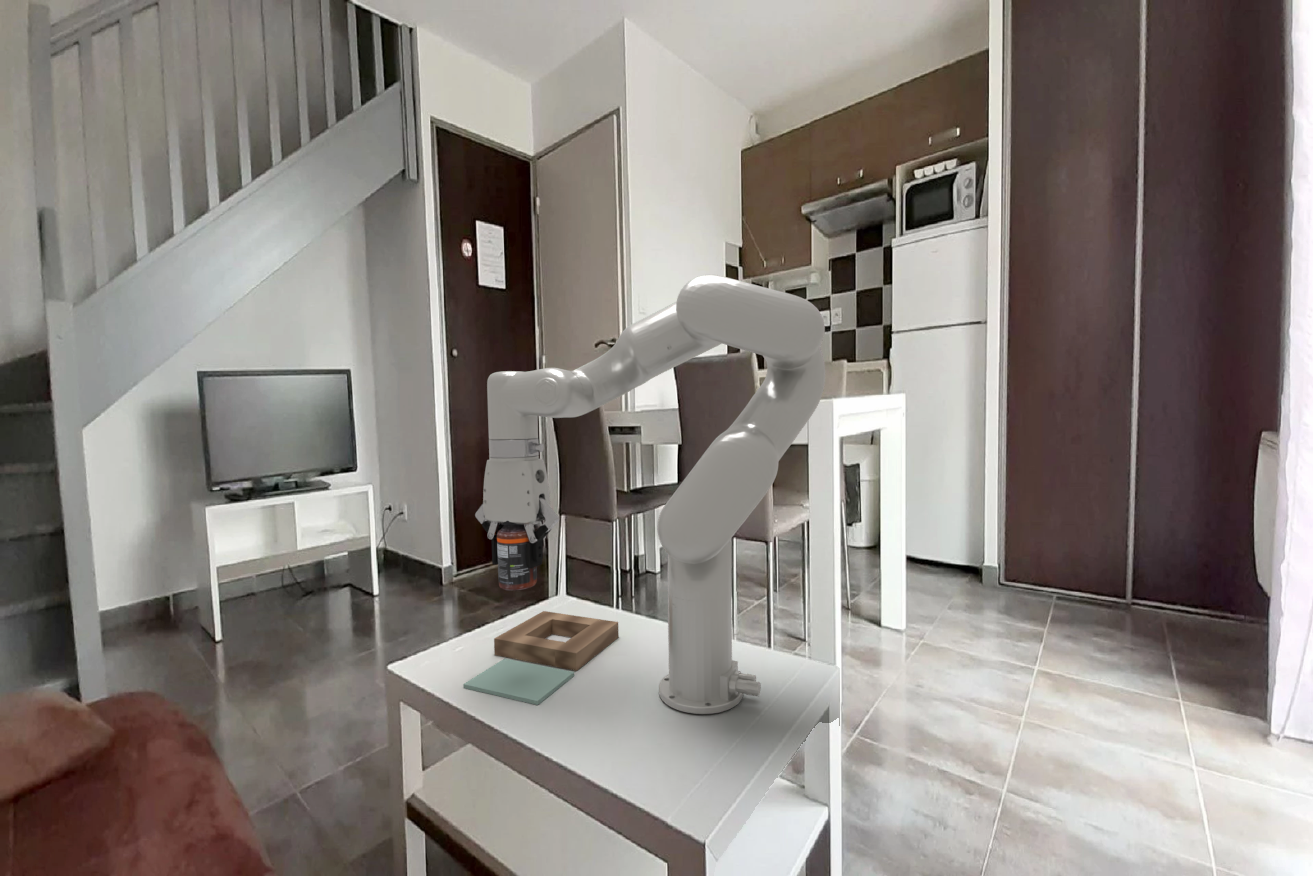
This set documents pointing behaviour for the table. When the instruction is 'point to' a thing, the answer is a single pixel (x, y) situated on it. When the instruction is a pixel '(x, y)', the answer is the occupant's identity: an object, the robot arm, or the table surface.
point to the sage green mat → (519, 681)
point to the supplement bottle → (514, 558)
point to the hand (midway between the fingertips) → (517, 563)
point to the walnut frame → (571, 655)
